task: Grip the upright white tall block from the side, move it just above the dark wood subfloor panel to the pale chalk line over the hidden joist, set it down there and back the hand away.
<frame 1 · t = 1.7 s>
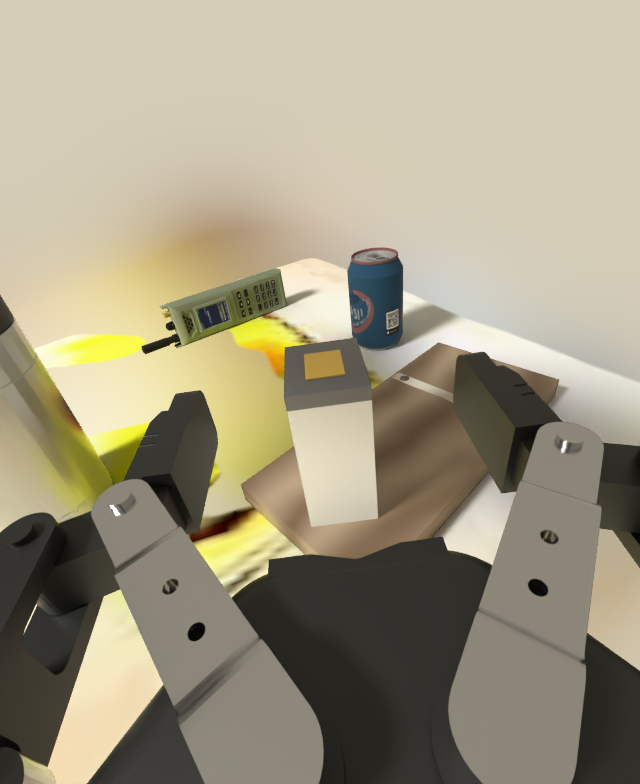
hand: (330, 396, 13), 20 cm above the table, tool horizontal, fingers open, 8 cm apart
subfloor panel: (413, 443, 38), on the table
handheld radio: (221, 330, 66), on the table
white tall block: (340, 491, 32), point 2 cm above the table, touching subfloor panel
soda can: (377, 342, 56), on the table
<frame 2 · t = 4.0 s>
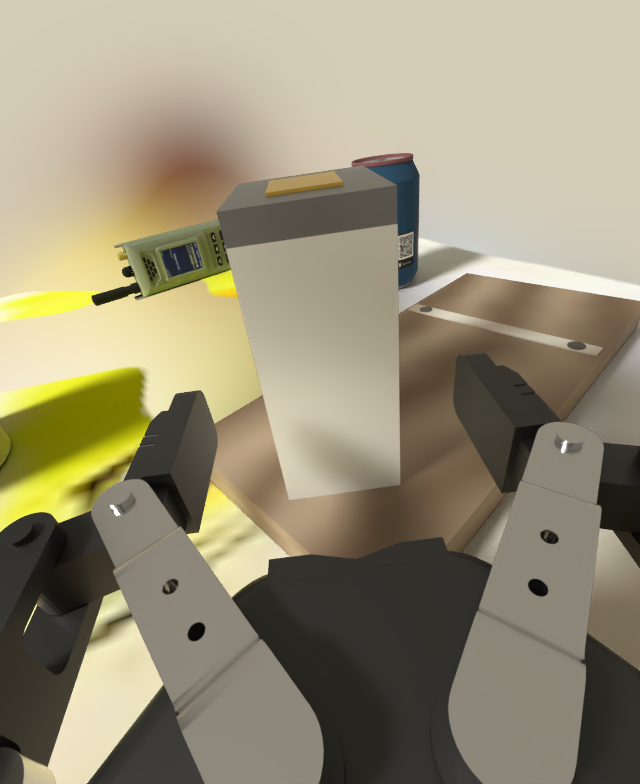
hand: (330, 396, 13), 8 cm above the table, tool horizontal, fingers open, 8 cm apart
subfloor panel: (444, 388, 26), on the table
handheld radio: (193, 282, 54), on the table
white tall block: (337, 447, 20), point 2 cm above the table, touching subfloor panel
soda can: (385, 283, 44), on the table
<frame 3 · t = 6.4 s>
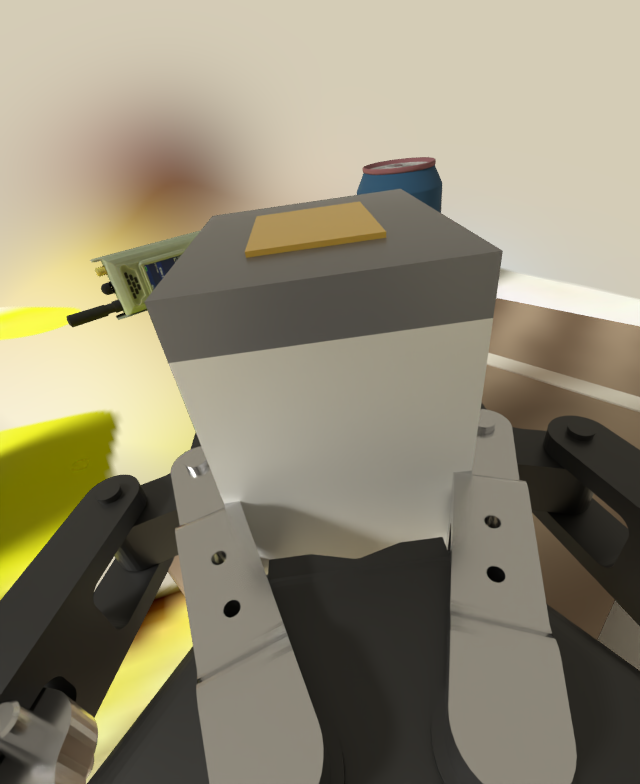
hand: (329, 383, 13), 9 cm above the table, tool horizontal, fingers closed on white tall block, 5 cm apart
subfloor panel: (483, 456, 21), on the table
handheld radio: (181, 297, 49), on the table
white tall block: (354, 565, 15), point 2 cm above the table, touching gripper, subfloor panel
soda can: (399, 305, 39), on the table
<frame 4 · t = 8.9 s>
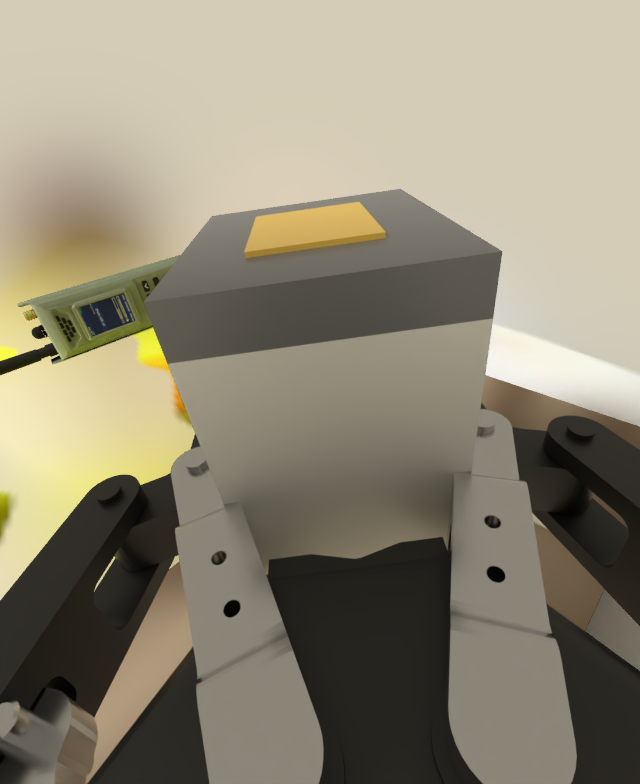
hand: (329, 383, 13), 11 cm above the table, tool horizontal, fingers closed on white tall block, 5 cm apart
subfloor panel: (391, 577, 19), on the table
handheld radio: (125, 336, 47), on the table
white tall block: (354, 566, 15), point 4 cm above the table, touching gripper
when the fingers open (9 cm above the table, at t = 11.4 s): white tall block stays where it is, resting on subfloor panel.
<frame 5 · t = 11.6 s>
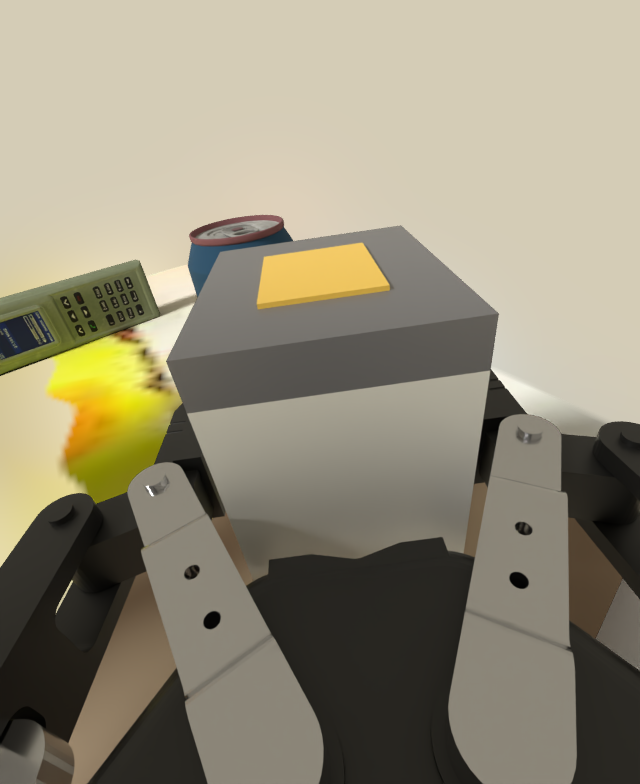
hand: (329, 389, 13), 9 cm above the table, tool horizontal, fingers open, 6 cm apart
subfloor panel: (240, 740, 13), on the table
handheld radio: (45, 358, 42), on the table
white tall block: (356, 581, 15), point 2 cm above the table, touching subfloor panel
soda can: (273, 390, 31), on the table
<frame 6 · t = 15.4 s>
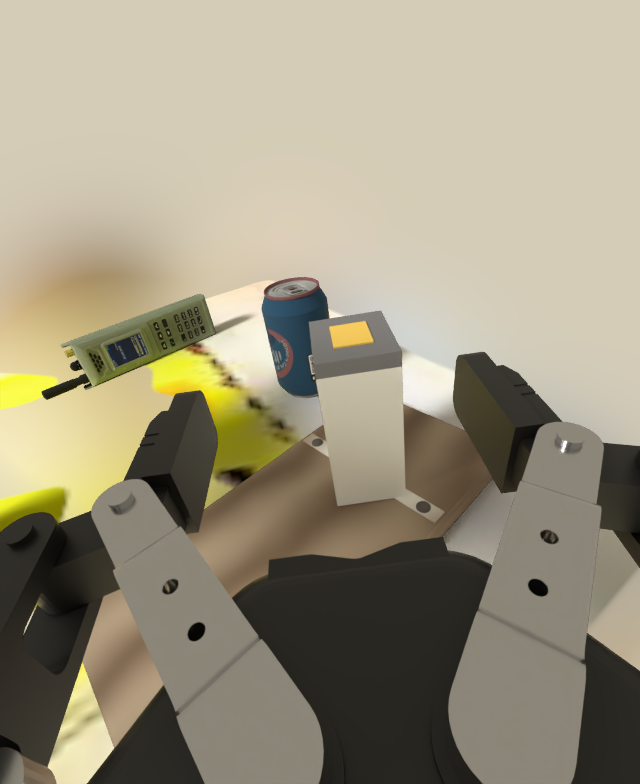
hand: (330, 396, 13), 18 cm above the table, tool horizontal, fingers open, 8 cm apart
subfloor panel: (313, 537, 29), on the table
handheld radio: (140, 365, 59), on the table
white tall block: (364, 471, 31), point 2 cm above the table, touching subfloor panel
soda can: (309, 385, 47), on the table
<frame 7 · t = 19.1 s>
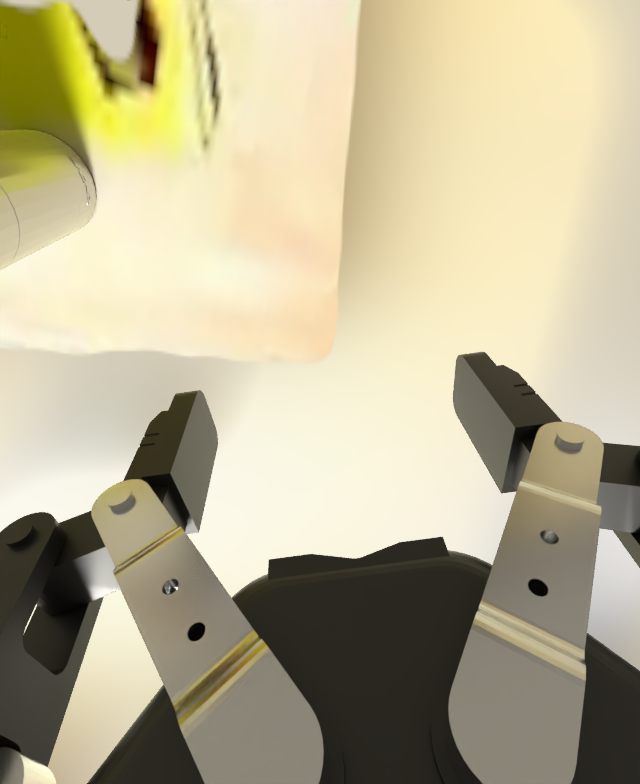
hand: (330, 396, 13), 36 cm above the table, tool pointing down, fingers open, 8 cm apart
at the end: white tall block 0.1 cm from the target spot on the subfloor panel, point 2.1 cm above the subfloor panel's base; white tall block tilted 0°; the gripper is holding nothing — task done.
